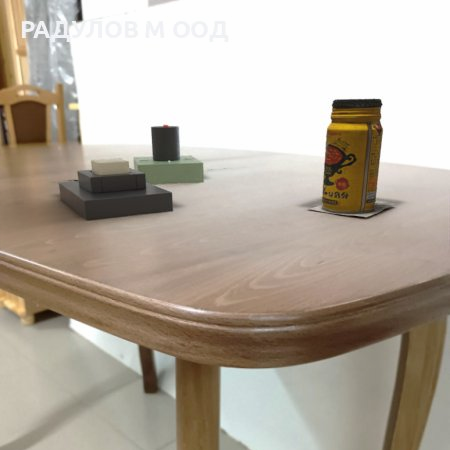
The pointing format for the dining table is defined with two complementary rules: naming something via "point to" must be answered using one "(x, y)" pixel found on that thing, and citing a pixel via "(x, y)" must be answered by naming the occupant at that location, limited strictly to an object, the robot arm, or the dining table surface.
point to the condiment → (353, 158)
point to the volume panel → (170, 170)
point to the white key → (110, 166)
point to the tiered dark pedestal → (114, 195)
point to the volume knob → (165, 143)
